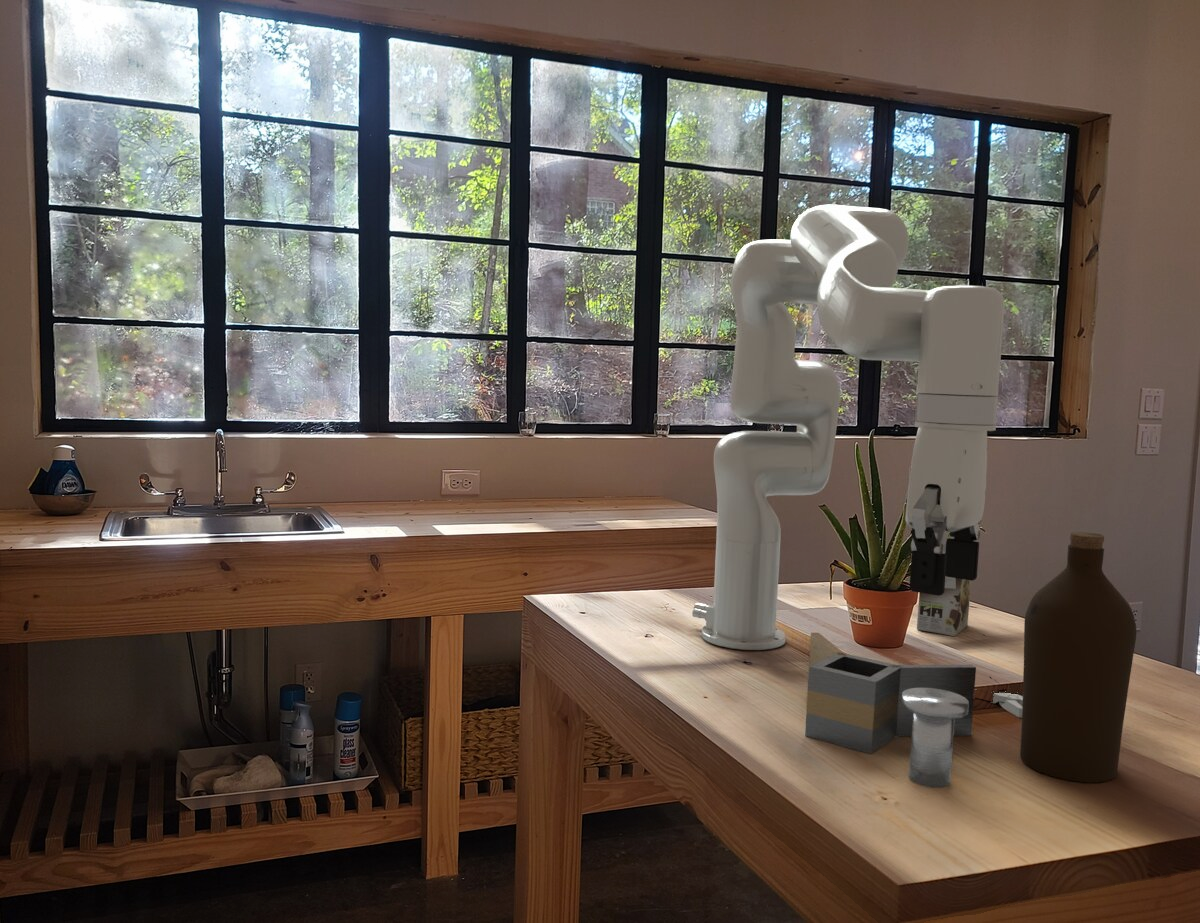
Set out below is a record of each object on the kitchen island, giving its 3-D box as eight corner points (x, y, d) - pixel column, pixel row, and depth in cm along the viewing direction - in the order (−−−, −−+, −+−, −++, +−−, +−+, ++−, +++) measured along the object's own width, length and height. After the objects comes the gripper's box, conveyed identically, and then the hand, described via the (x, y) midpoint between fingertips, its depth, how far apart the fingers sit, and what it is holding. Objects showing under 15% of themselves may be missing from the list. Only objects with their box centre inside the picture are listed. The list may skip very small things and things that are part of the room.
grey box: (755, 721, 116) (758, 654, 115) (809, 692, 127) (813, 631, 126) (929, 770, 103) (934, 695, 103) (972, 733, 115) (978, 666, 114)
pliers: (994, 668, 136) (1068, 705, 122) (993, 679, 137) (1067, 718, 122) (929, 670, 134) (996, 709, 120) (928, 682, 134) (995, 721, 120)
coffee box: (956, 637, 157) (964, 536, 155) (915, 630, 160) (922, 531, 159) (969, 625, 164) (976, 529, 163) (929, 619, 168) (936, 524, 166)
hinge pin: (886, 779, 101) (892, 698, 100) (910, 761, 106) (915, 683, 105) (950, 798, 97) (956, 713, 96) (971, 778, 102) (977, 697, 101)
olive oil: (1084, 794, 99) (1106, 546, 97) (993, 756, 108) (1010, 528, 105) (1144, 774, 105) (1166, 539, 102) (1052, 740, 114) (1070, 523, 111)
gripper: (947, 410, 107) (936, 568, 108) (884, 413, 93) (873, 592, 95) (1020, 414, 102) (1008, 578, 104) (965, 417, 89) (952, 606, 90)
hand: (944, 585), depth 99 cm, fingers open, 9 cm apart
